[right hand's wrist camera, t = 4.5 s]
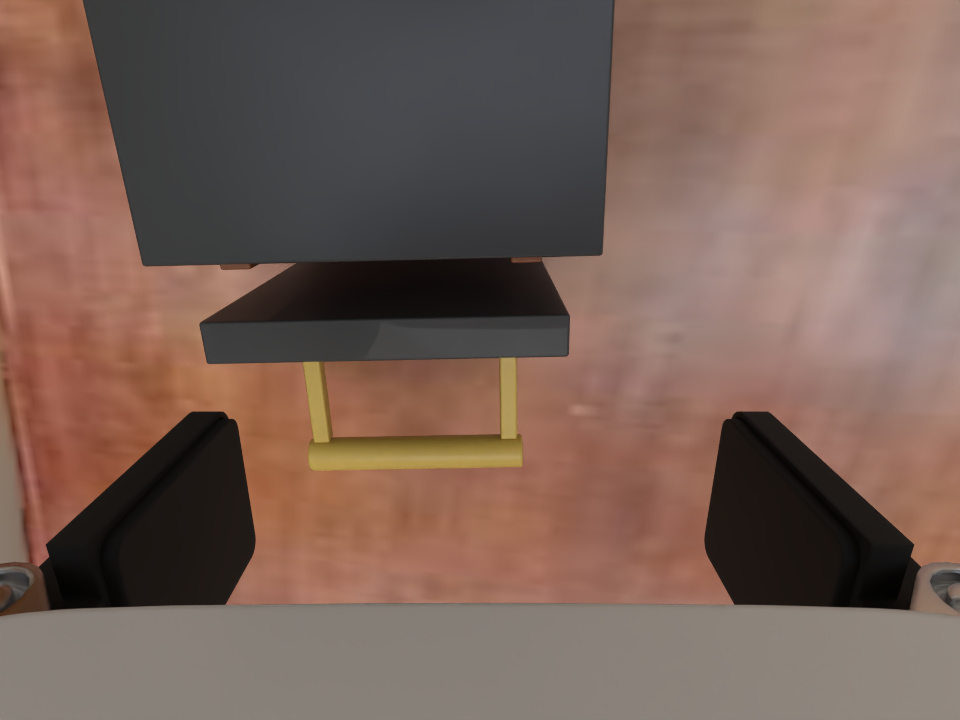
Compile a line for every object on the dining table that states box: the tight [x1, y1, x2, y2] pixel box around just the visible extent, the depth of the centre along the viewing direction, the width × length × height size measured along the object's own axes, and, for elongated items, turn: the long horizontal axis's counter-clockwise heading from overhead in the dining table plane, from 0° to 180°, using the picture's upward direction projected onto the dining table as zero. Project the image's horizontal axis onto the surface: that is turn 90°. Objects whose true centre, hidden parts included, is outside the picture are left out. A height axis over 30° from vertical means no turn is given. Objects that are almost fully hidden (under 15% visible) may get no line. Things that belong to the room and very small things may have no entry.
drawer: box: [200, 257, 570, 471], centre depth 18 cm, size 22×10×9 cm, turn 1°
